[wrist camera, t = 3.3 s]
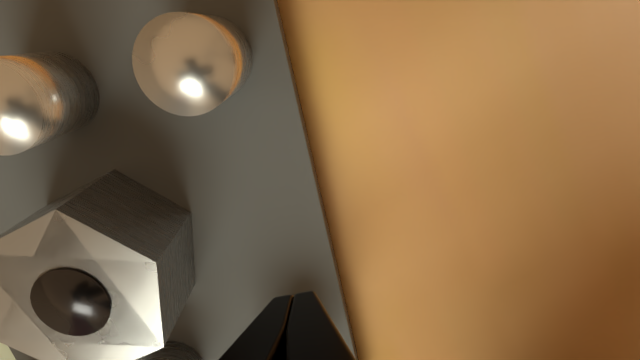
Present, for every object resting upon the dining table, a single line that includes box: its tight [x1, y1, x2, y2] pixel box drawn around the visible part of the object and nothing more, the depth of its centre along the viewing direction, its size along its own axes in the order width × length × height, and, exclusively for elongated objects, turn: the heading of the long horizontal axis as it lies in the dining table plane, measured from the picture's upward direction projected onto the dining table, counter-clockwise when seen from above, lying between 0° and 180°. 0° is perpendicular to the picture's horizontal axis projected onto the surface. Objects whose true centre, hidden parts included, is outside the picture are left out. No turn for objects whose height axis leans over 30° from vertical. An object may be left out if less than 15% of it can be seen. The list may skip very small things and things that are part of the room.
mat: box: [0, 0, 358, 360], centre depth 14 cm, size 12×16×1 cm
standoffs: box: [0, 12, 252, 360], centre depth 12 cm, size 11×12×3 cm
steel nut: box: [0, 169, 196, 360], centre depth 12 cm, size 5×4×3 cm
